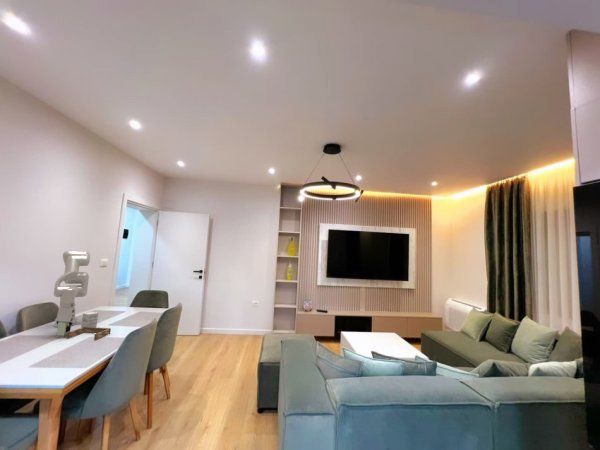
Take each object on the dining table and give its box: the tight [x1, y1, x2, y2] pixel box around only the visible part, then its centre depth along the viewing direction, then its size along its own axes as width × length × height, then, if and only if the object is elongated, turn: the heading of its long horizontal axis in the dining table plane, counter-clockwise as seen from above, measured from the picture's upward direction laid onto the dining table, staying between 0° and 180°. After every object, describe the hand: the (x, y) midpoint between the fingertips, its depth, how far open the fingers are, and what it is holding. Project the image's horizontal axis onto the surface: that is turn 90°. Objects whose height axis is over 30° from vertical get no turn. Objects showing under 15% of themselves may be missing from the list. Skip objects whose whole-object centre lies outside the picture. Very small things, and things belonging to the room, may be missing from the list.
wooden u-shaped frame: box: [66, 327, 112, 341], centre depth 201 cm, size 15×20×4 cm
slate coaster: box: [55, 334, 67, 339], centre depth 198 cm, size 8×8×1 cm
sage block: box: [56, 322, 71, 336], centre depth 198 cm, size 5×5×9 cm
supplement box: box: [80, 311, 99, 328], centre depth 217 cm, size 7×7×13 cm
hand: (63, 330), depth 198 cm, fingers closed on sage block, 5 cm apart
